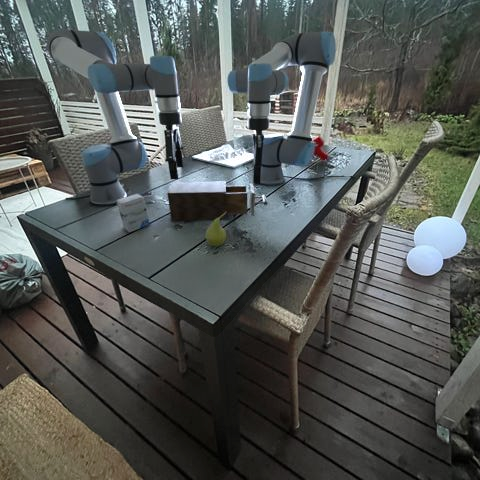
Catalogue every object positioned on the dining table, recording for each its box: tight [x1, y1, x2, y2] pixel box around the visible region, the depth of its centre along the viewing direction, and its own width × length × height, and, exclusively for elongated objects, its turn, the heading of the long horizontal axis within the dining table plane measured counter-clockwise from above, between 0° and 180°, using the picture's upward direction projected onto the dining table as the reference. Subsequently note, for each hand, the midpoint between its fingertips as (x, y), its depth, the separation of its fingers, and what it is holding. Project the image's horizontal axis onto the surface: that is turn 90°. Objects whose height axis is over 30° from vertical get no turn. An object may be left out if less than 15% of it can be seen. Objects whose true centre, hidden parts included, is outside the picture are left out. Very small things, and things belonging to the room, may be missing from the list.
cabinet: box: [166, 180, 228, 222], centre depth 109 cm, size 22×11×12 cm, turn 92°
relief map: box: [192, 143, 253, 169], centre depth 179 cm, size 27×35×5 cm
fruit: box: [204, 211, 227, 248], centre depth 90 cm, size 7×8×12 cm
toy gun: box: [312, 135, 329, 163], centre depth 172 cm, size 18×4×15 cm
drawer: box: [226, 183, 269, 217], centre depth 110 cm, size 26×10×10 cm, turn 92°
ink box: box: [116, 193, 151, 233], centre depth 100 cm, size 8×5×12 cm, turn 135°
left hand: (177, 172), depth 103 cm, fingers open, 13 cm apart
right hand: (256, 182), depth 106 cm, fingers closed
